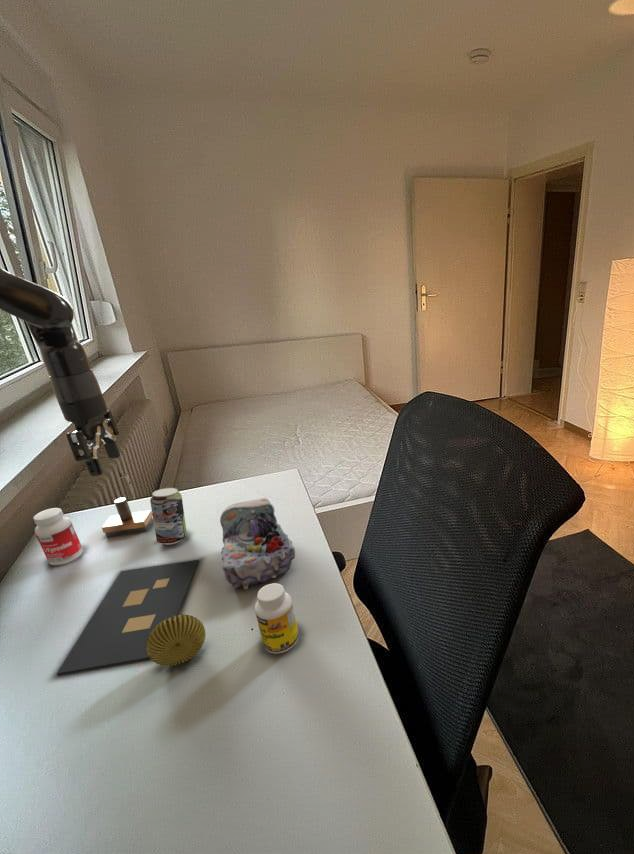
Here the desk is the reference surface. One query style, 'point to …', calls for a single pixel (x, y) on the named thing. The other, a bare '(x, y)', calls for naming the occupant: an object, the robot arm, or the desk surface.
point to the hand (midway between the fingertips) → (106, 465)
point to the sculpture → (175, 640)
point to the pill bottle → (57, 536)
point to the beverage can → (168, 516)
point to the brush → (127, 520)
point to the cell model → (253, 544)
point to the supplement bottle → (276, 618)
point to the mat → (130, 616)
